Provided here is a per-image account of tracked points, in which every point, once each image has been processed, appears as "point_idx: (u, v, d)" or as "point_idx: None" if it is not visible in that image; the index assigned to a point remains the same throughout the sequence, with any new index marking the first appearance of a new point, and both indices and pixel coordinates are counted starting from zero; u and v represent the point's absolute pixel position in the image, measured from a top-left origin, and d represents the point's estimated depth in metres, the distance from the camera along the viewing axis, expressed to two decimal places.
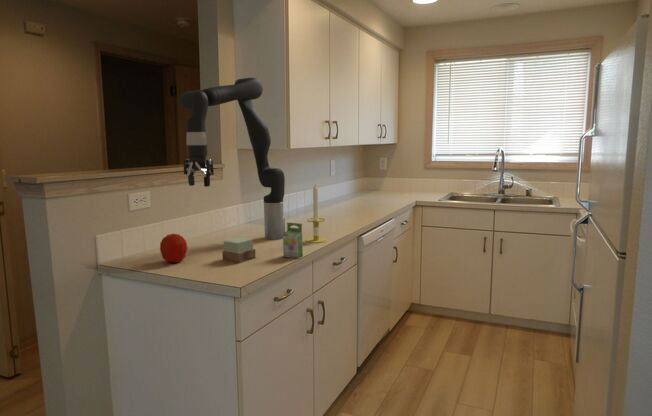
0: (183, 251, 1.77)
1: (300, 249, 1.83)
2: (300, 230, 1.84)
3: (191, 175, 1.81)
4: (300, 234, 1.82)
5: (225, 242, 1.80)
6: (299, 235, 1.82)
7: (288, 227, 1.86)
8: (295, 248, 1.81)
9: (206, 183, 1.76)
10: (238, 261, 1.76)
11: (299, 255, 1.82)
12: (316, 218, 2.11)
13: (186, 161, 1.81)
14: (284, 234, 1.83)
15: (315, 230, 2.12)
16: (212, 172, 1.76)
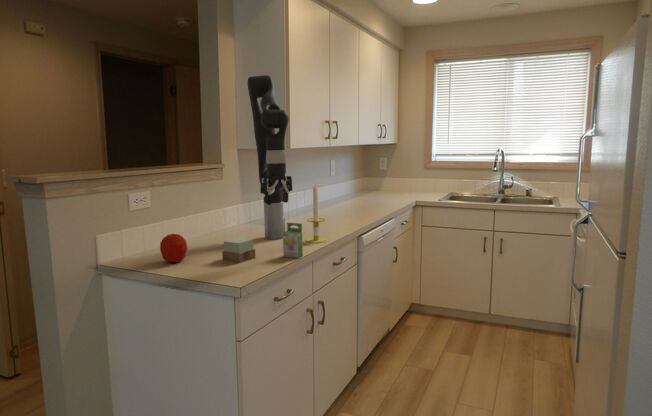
0: (183, 251, 1.77)
1: (300, 249, 1.83)
2: (300, 230, 1.84)
3: None
4: (300, 234, 1.82)
5: (225, 242, 1.79)
6: (299, 235, 1.82)
7: (288, 227, 1.86)
8: (295, 248, 1.81)
9: (287, 199, 1.84)
10: (238, 261, 1.76)
11: (299, 255, 1.82)
12: (316, 218, 2.11)
13: None
14: (284, 234, 1.83)
15: (315, 230, 2.12)
16: None
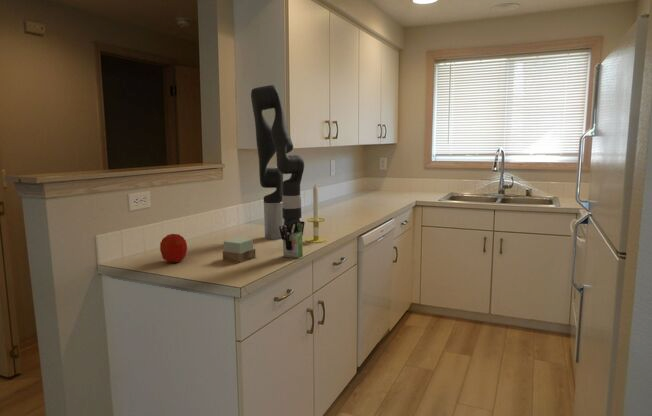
0: (183, 251, 1.77)
1: (300, 249, 1.83)
2: (300, 230, 1.84)
3: None
4: (300, 234, 1.82)
5: (225, 242, 1.79)
6: (299, 235, 1.82)
7: None
8: (295, 247, 1.81)
9: None
10: (238, 261, 1.76)
11: (299, 255, 1.82)
12: (316, 218, 2.11)
13: None
14: None
15: (315, 230, 2.12)
16: None
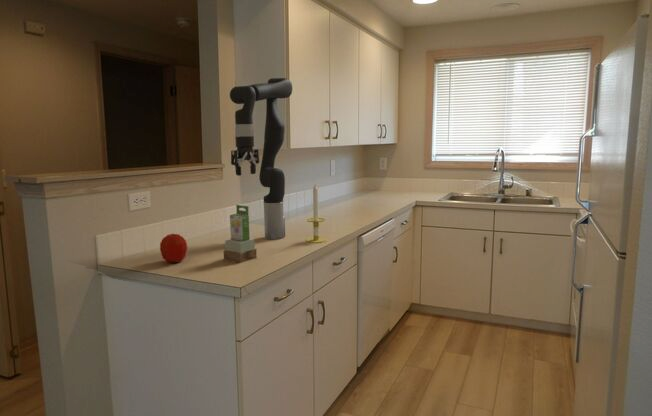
0: (183, 251, 1.77)
1: (246, 232, 1.79)
2: (247, 213, 1.80)
3: None
4: (246, 217, 1.79)
5: (227, 242, 1.80)
6: (244, 217, 1.78)
7: (238, 210, 1.83)
8: (240, 230, 1.78)
9: (255, 171, 1.97)
10: (239, 261, 1.77)
11: (244, 238, 1.79)
12: (316, 218, 2.11)
13: None
14: (230, 216, 1.80)
15: (315, 230, 2.12)
16: None
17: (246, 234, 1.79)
